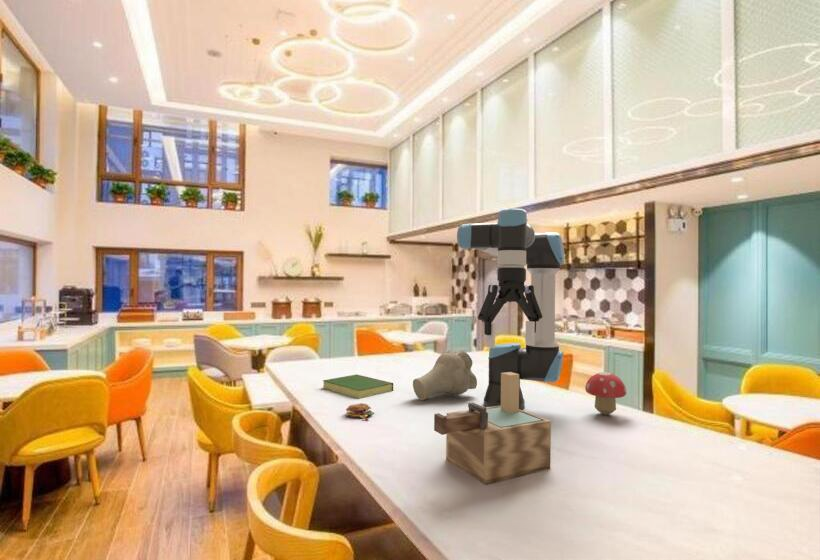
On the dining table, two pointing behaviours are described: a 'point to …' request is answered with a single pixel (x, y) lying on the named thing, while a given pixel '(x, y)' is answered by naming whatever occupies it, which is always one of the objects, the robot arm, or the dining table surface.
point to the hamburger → (359, 411)
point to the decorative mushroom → (605, 391)
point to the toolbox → (500, 448)
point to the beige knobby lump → (447, 376)
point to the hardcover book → (358, 385)
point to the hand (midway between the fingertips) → (510, 346)
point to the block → (457, 422)
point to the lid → (509, 404)
